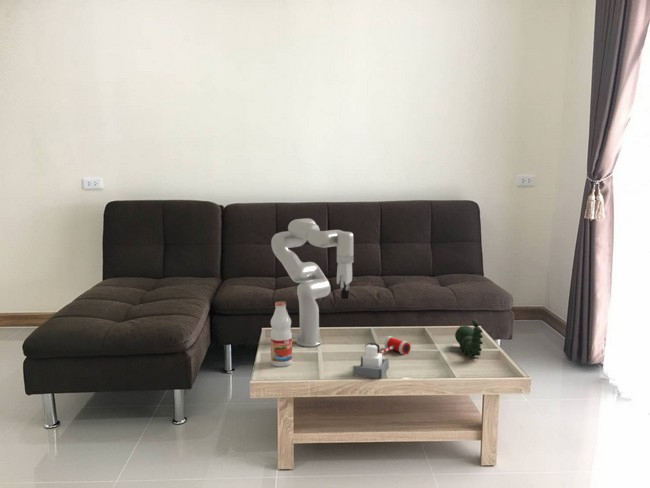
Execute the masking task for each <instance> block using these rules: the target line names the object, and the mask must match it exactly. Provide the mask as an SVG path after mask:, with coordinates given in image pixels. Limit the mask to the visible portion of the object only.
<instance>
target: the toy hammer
mask: <svg viewBox="0 0 650 488" xmlns="http://www.w3.org/2000/svg"><path fill="white" fill-rule="evenodd" d="M384 347H385V349H383V350H379V353H380V354H382V355H383V354H385V353H388V352H390V351H395V352H397V351H398V352H397V353H399V354H401V355H403V354H405V355H408V354H409V353H410V352H411V350H412V349H411V348H412V345H411V343H410V342H409V341H407V340H399V339H397V338H396V337H394V336H391V335H388V336H387V337H386V338H385V340H384ZM386 348H387V349H386ZM407 353H408V354H407Z"/></svg>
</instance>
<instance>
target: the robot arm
mask: <svg viewBox="0 0 650 488" xmlns="http://www.w3.org/2000/svg"><path fill="white" fill-rule="evenodd" d="M270 241H271V242H270V243H271V250H272V252H273V254H274V255H275V257H276V258H277V259H278V260H279V262H280V263H281V264H282V266H283V267H284V269H285V270H286V272H287V274H288V276H289V277H290V278H291V280H292V282H294V283H299V284H298V285H297V289H296V292H297V293H296V294H297V297H298V304H299V305H298V307H299V308H298V309H299V312H298V313H299V333H292V339H297V340H296V344H297V345H298V346H299V345H300V347H303V346H304V348H305V347H306V348H314V347H318V346H317V345H318V344H320V343H322V344H323V339H321V338H320V313H319V312H320V310H319V309H320V308H319V305H318V303H317V301H316V299H322V298H325V297H327V296H328V295H330V293H331V284H330V282H329V280H328V278H327V277H326V276H325V274H324V272H323V271H322V269H321V268H320V266H319V265H318V264H317V263H316V262H314V261H307V262H305V261H304V262H303V261H302V260H301V259H300V258H299V256H298V255H297V254H296V253H295V252H294V251H292V250H291V248H298V247H301V246H303V245H305V243H307V242H308V243H309V244H310V245H312V246H315V247H318V248H323V249H325V248H331V247H336V263H337V269H336V270H337V271H336V285H340V289H341V290H340V291H341V292H340V294H341V295H340V298H341V300H348V299H350V283H352V281H353V263H354V233H353V232H351V231H344V230H340V229H330V230H323V231H322V230H320V227H319V225H318V224H317V223H316V221H315V220H314V219H312V218H297V219H293V220H292V221H290V222H289V224H288V226H287V231H280V232H277V233H275V234H274V235H273V236H272V238H271V240H270ZM319 339H320V342H319ZM318 342H319V343H318Z"/></svg>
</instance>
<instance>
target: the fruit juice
mask: <svg viewBox="0 0 650 488" xmlns="http://www.w3.org/2000/svg"><path fill="white" fill-rule="evenodd" d="M274 305H275V306H274V307H275V309H274V312H273V315H272V317H271V319H270V326H271V330H270V360H271V361H270V362H271V365H272V366H273V367H277V368H281V367H289V366H291V365H292V363H293V337H292V334H293V333H292V329H291V327H292V318H291V317H290V315H289V313H288V310H287V308H286V307H287V302H286V301H281V300H280V301H275V303H274Z"/></svg>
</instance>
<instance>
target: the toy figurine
mask: <svg viewBox="0 0 650 488" xmlns="http://www.w3.org/2000/svg"><path fill="white" fill-rule="evenodd" d="M471 324H472V326H473V327H474V328H472V327H471V326H468V325H460V326H459V327H458V328H457V329H456V330H455V334H454V337H455V340H456V342H457V343H458V344H459V347H460V349H459V350H460V351H462V352H463V354H464V355H465V356H469V357H472V356H473V355H475V356H481V352H482V350H483V349H482V346H481V345H483V344H484V343H483V341H482V338H483V337H484V336H483V335H482V333H483V329H481V327H479V326H480V325H479V322H478V320H477V319H474V318H473V319H472V320H471Z"/></svg>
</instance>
